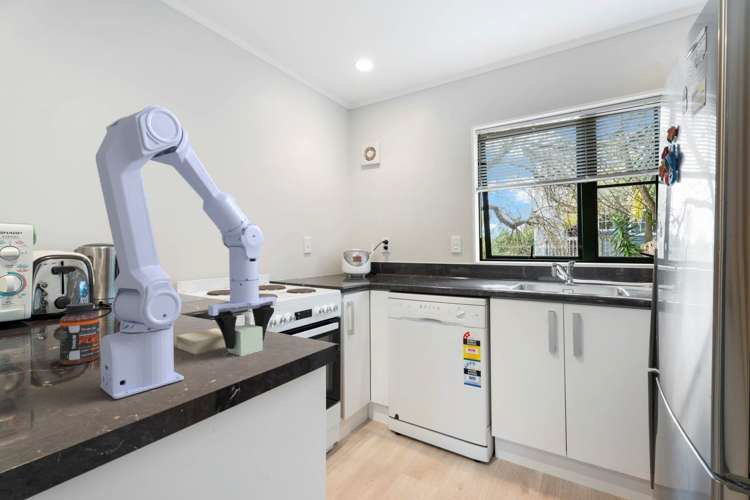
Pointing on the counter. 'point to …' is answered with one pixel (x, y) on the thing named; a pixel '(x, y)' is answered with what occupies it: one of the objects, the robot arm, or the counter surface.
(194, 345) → the maple slab
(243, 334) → the sage cube
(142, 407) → the counter surface
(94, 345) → the supplement bottle
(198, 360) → the counter surface
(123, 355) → the robot arm
